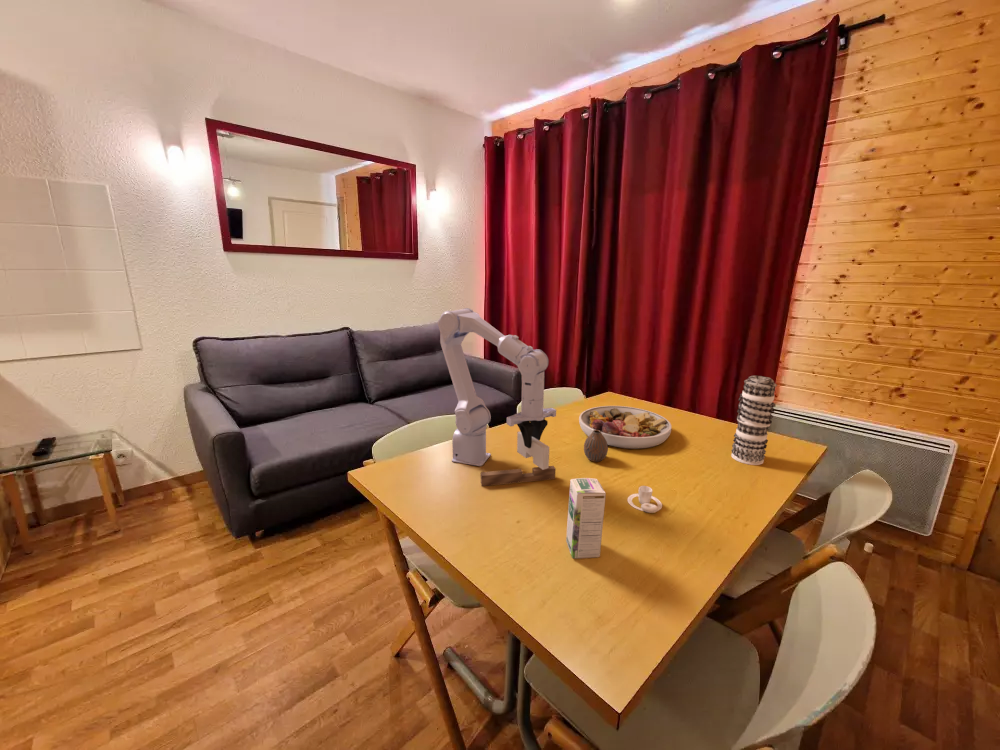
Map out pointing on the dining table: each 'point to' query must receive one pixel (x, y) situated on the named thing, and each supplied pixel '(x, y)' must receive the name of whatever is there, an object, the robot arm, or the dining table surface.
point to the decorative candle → (753, 420)
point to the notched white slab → (534, 451)
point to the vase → (596, 446)
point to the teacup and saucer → (645, 500)
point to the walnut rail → (516, 476)
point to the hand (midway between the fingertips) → (531, 445)
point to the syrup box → (585, 517)
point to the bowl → (626, 426)
